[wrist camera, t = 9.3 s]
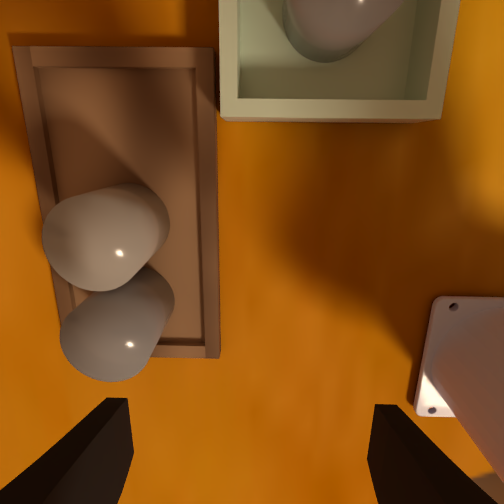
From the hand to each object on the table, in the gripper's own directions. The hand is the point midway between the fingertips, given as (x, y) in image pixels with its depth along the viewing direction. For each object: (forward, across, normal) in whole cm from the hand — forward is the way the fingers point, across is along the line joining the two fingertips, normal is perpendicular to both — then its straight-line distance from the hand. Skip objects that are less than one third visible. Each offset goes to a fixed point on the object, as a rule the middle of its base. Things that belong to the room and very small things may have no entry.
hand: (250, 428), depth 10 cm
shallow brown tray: (+10, +6, -4) cm, 13 cm away
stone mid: (+10, +6, -4) cm, 12 cm away
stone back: (+10, +6, 0) cm, 12 cm away
